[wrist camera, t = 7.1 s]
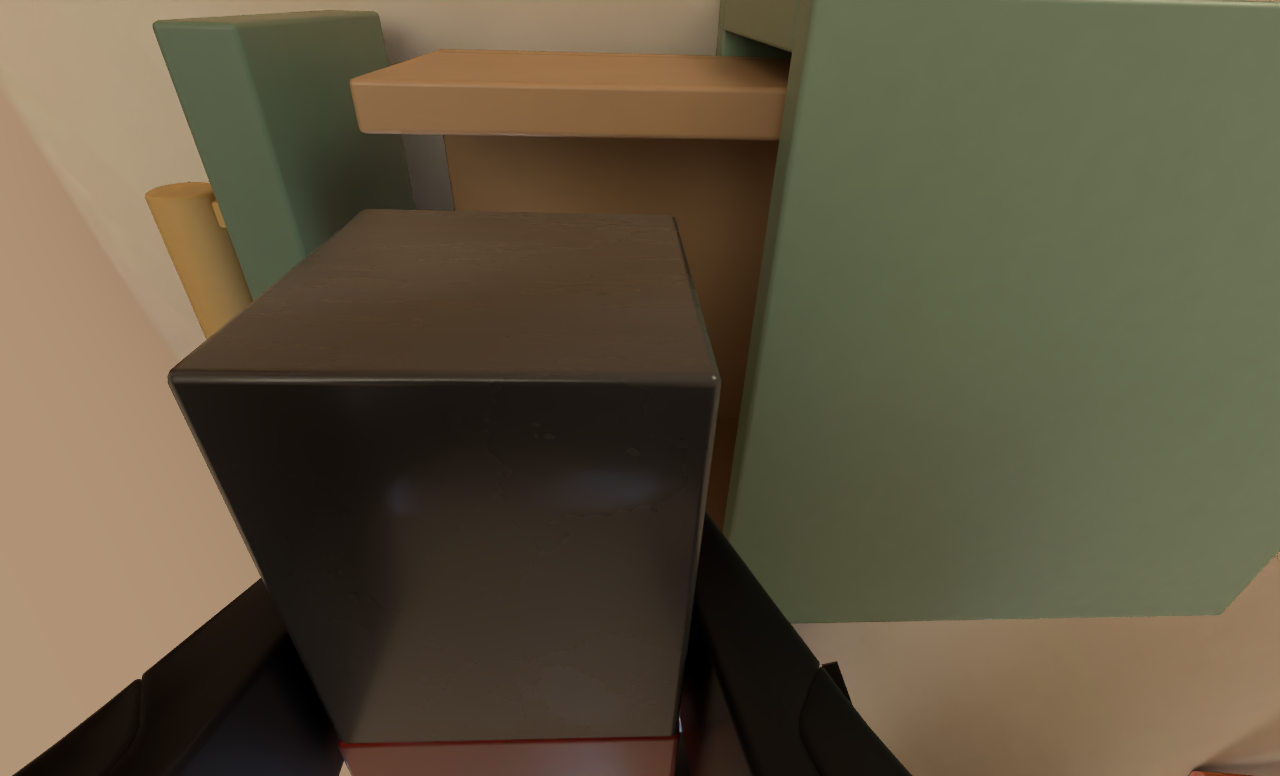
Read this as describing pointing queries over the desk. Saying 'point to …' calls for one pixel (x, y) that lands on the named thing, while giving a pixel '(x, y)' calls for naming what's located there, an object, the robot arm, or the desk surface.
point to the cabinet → (1014, 309)
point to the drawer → (466, 156)
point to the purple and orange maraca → (1213, 774)
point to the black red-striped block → (475, 483)
